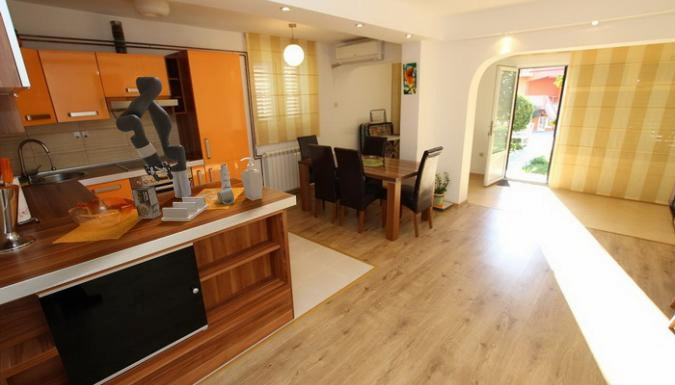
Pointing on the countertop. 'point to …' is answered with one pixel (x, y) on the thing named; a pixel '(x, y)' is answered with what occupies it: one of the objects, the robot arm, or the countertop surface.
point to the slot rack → (185, 209)
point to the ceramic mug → (226, 196)
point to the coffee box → (146, 202)
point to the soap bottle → (252, 181)
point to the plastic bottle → (225, 177)
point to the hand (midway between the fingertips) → (165, 179)
